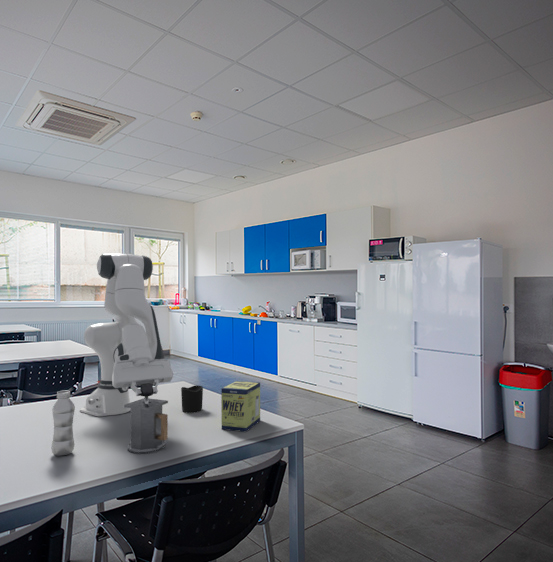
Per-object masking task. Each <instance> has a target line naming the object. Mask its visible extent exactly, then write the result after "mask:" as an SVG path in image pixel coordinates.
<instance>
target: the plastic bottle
mask: <svg viewBox="0 0 553 562" xmlns="http://www.w3.org/2000/svg"><path fill="white" fill-rule="evenodd" d="M70 398H71V391H70V390H60V391H57V392H56V399H57V400H56V401H55V403H54V405H53V407H52V410H51V411H52V420H53V435H52V437H53V438H52V442H51V454H52V455H54V456H58V457H59V456H65V455H69V454H71V453H72V452H73V451H74V449H75V445H76V444H75V438H74V431H73V430H74V429H73V424H74V415H75V410H76V409H75V408H76V407H75V403H74V402H73V401H72V400H71V399H70Z"/></svg>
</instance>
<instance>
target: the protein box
mask: <svg viewBox="0 0 553 562" xmlns="http://www.w3.org/2000/svg"><path fill="white" fill-rule="evenodd" d="M220 397H221V399H220V400H221V402H220V403H221V408H220V409H221V430H226V429H230V430H229V431H235V430H240V431H239V432H244V431H247V430H248V429H249V430H251V428H253V427H254V426H255V425H257V424H258V423H259V422H260V421H261V382H259V381H258V382H257V381H247V380H245V381H244V380H236V381H234V382H232V383H230V384H228V385H225V386H224V387H222V388H221V395H220ZM257 422H258V423H257ZM253 425H254V426H253ZM252 426H253V427H252ZM249 430H248V431H249ZM248 431H247V432H248Z"/></svg>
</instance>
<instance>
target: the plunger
mask: <svg viewBox="0 0 553 562" xmlns="http://www.w3.org/2000/svg"><path fill="white" fill-rule="evenodd" d="M139 386H140V387H139V389H141V396H140V397H144V398H145V404H148V398H149V397H150V396H153V395H154V394H153V387H154V385H153V384H151V383H145V384H141V385H139Z"/></svg>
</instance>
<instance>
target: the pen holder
mask: <svg viewBox="0 0 553 562" xmlns="http://www.w3.org/2000/svg"><path fill="white" fill-rule="evenodd" d="M180 391H181V410H182V412H183V413H186V412H187V413H188V414H194V412H195V413H199V412H201V411H202V410H203V397H204V396H203V394H204V387H203V386H202V385H197V384H196V385H192V386H190V387H185V386H183V387H181V389H180Z"/></svg>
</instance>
